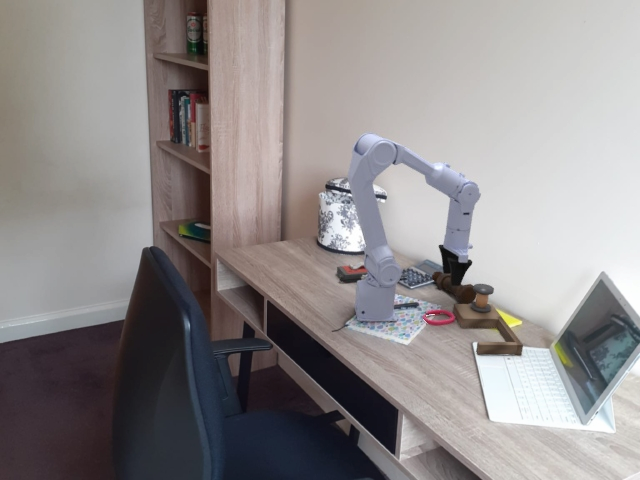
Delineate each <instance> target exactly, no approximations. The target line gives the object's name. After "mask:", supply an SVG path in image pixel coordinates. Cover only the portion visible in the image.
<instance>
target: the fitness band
mask: <svg viewBox="0 0 640 480" xmlns="http://www.w3.org/2000/svg"><path fill="white" fill-rule="evenodd" d="M429 314H435V315H434V316H439V315H441V314H444V315H447V316H448V317H449V319H442V320H432V319H429V318H428V317H426V315H429ZM422 317H423V319H424V320H425V321H426V322H427V323H428V324H427V323H426V324H427V325H431V326H436V327H437V326H445V325H450V324H453V323H454V322H455V321H456V320H455V319H456V318H455V316H454V314H453V312H451V311H449V310H446V309H433V310H426V311H425V312H424V314H423V315H422ZM425 317H426V318H425Z"/></svg>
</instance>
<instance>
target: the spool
mask: <svg viewBox="0 0 640 480" xmlns="http://www.w3.org/2000/svg"><path fill="white" fill-rule="evenodd" d="M473 286H474V287H473V290H474V291H475V292H476V293H477V295H476V298H475V301H473V302H472V303H471V309H472V310H473V311H476V312H479V313H488V312H490V311H491V306H490V305H489V304H490V303H488V302H489V296H490V295H493V293H494V290H495V288H494V287H493V286H491V285H489V284H486V283H475V284H473Z"/></svg>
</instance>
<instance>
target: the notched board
mask: <svg viewBox="0 0 640 480" xmlns="http://www.w3.org/2000/svg"><path fill="white" fill-rule="evenodd" d="M488 304H489V305H490V306H491V311H490V312H488V313H479V312H476V311H473V310H472V309H471V304H460V303H453V307H452V314H453V315H454V316H455V319H456V321H457V323H458V324H459V326H460V328H461V329H496V330H497V331H498V332H499V334H500V335H501V336H502V338H503V339H504V341H477V342H476V343H477V344H476V349H475V352H477V353H476V354H477V356H479V355H480V354H516V355H515V356H522V355H523V354H522V353H523V348H524V344H523V343H522V342H521V340H520V339H519V338H518V336H517V335H516V333H514V331H513V329H512V328H511V327H510V326H509V323H507V322H506V321H505V319H504V318H503V316H501V314H500V313H499V310H497V309H496V307H495V306H494V305H493V304H492V303H491V304H490V303H488ZM480 356H481V355H480Z"/></svg>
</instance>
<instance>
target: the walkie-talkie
mask: <svg viewBox="0 0 640 480" xmlns="http://www.w3.org/2000/svg"><path fill="white" fill-rule="evenodd" d="M367 273H368V271H367V270H366V268H365V267H364V261H359V262H357V263H355V265H354V264H352V263H349V264H348V265H341V266H336V276H337V277H338V278H339V281H340V282H342V283H345V284H346V283H347V284H349V283H357V281H359V280H364V279H366V277H367ZM407 276H408V277H409V275H408V274H407V273H406V274H405V273H404V274H403V273H402V275H401V278H406V277H407ZM408 277H407V278H408Z"/></svg>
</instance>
